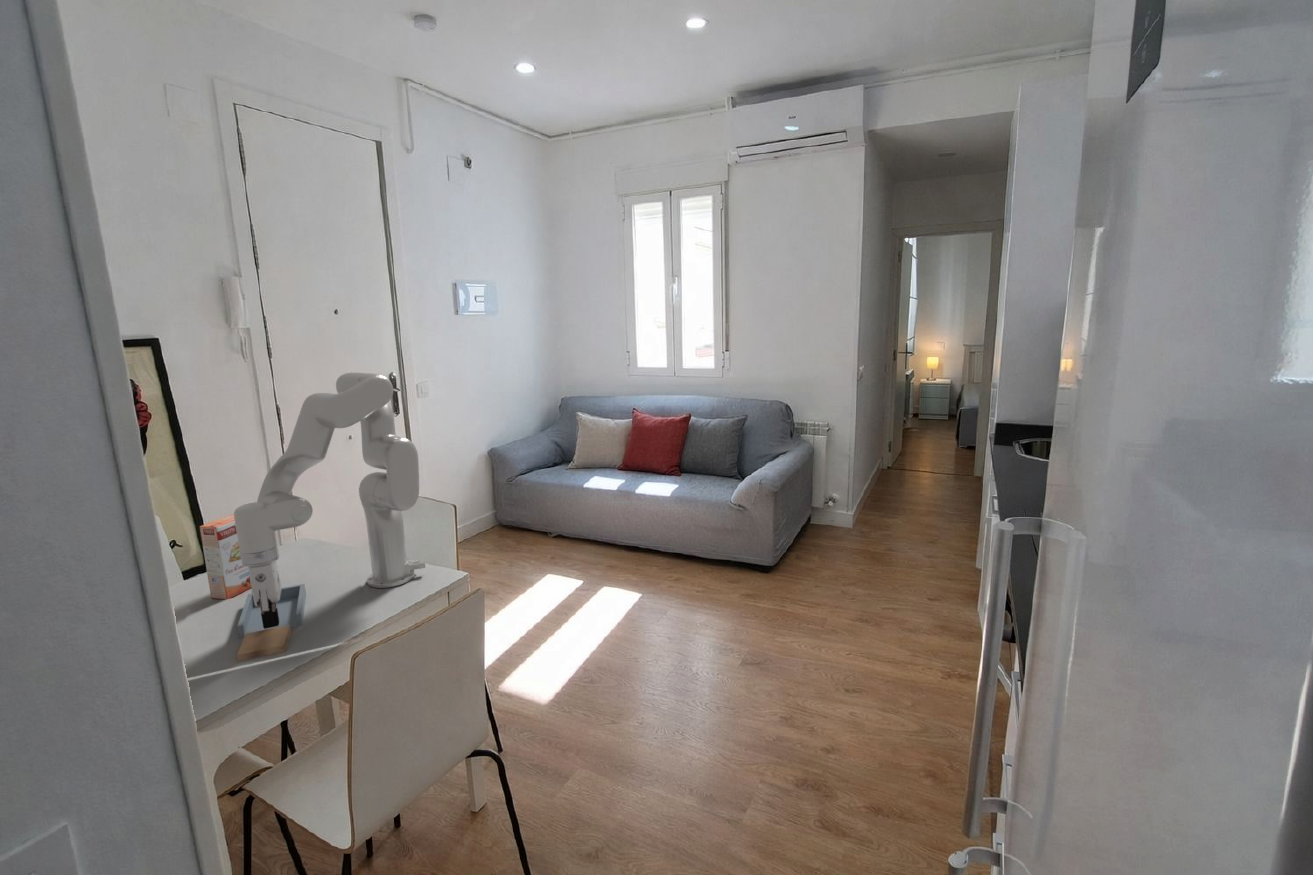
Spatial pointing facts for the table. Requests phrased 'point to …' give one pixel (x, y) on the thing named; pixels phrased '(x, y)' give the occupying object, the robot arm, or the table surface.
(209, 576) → the cracker box
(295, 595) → the blue-grey open-ended tray
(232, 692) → the table surface
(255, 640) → the tan square slab
